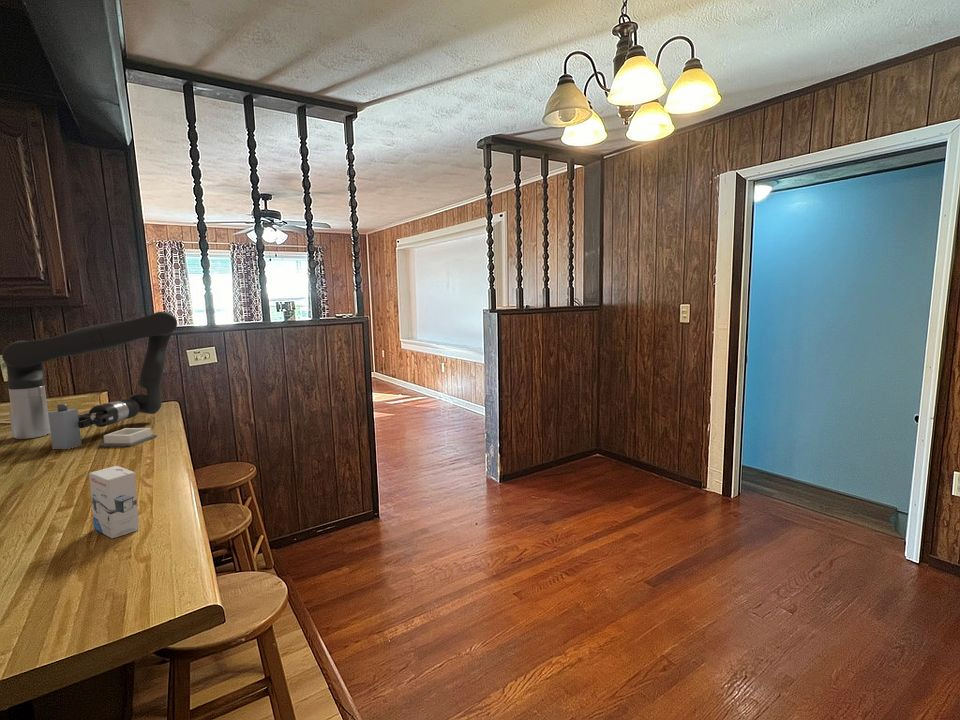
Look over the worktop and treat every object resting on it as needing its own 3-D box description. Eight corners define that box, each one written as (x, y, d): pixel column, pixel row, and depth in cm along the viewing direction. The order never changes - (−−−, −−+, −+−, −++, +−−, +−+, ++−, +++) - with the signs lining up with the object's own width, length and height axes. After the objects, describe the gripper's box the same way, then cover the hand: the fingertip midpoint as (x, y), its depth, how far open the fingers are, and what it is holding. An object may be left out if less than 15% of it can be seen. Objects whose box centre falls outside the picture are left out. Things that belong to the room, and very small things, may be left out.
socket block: (99, 446, 156) (97, 436, 156) (126, 436, 167) (125, 427, 167) (131, 446, 155) (130, 436, 155) (156, 436, 166) (155, 427, 166)
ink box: (93, 529, 98) (86, 472, 96) (122, 519, 102) (116, 465, 100) (112, 539, 93) (105, 480, 92) (142, 529, 97) (135, 472, 96)
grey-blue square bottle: (52, 449, 153) (47, 406, 152) (67, 445, 158) (62, 402, 157) (67, 450, 153) (61, 406, 151) (81, 445, 158) (76, 402, 156)
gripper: (89, 403, 172) (44, 413, 156) (127, 403, 170) (86, 413, 154) (91, 424, 173) (47, 436, 156) (129, 424, 171) (89, 436, 155)
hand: (67, 425), depth 155 cm, fingers open, 8 cm apart
